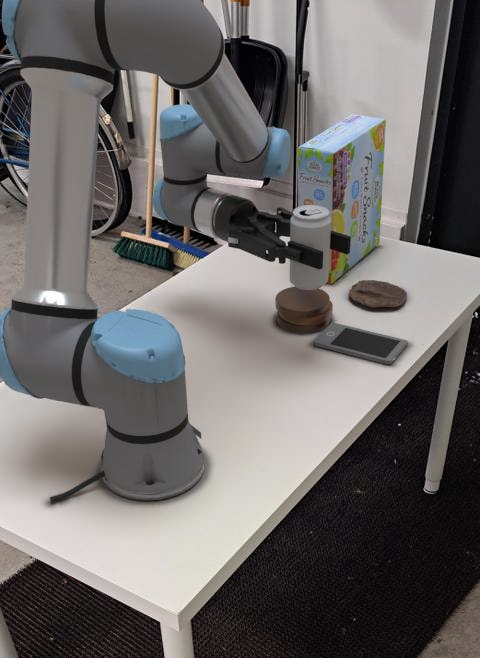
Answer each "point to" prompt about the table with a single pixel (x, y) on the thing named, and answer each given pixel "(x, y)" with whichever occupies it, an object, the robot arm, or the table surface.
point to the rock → (377, 294)
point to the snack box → (346, 183)
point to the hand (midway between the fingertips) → (335, 252)
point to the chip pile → (303, 310)
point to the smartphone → (360, 343)
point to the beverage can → (310, 244)
